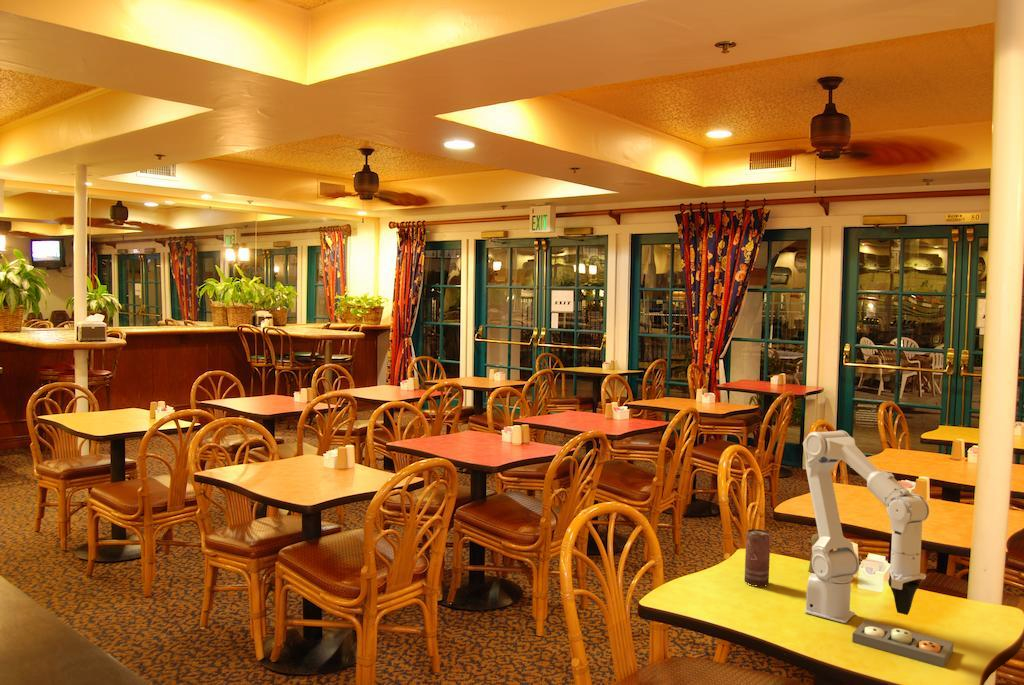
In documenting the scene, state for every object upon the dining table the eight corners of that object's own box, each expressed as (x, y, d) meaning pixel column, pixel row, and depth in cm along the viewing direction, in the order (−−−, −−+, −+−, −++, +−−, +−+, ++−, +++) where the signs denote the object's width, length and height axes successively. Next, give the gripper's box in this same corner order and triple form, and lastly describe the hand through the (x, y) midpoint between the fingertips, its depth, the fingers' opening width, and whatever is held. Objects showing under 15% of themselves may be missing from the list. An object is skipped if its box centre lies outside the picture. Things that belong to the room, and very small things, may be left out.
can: (766, 589, 202) (768, 536, 202) (741, 584, 206) (743, 532, 205) (771, 582, 208) (774, 531, 207) (748, 577, 211) (750, 527, 210)
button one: (862, 639, 172) (862, 629, 172) (867, 634, 175) (867, 624, 175) (881, 645, 170) (881, 634, 169) (886, 639, 173) (886, 629, 173)
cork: (833, 578, 212) (835, 538, 212) (810, 576, 214) (811, 536, 213) (829, 571, 218) (830, 532, 218) (806, 569, 219) (808, 530, 219)
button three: (916, 654, 165) (917, 644, 165) (920, 648, 168) (921, 638, 168) (937, 660, 163) (938, 649, 163) (941, 654, 166) (942, 643, 166)
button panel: (852, 641, 172) (852, 633, 171) (864, 627, 179) (865, 619, 179) (943, 667, 160) (944, 657, 160) (953, 651, 168) (953, 642, 168)
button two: (889, 642, 169) (889, 631, 168) (893, 636, 172) (894, 626, 172) (909, 647, 166) (909, 636, 166) (913, 641, 169) (914, 631, 169)
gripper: (918, 563, 160) (915, 628, 160) (933, 547, 171) (930, 608, 172) (881, 555, 164) (879, 618, 165) (898, 540, 175) (895, 600, 176)
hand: (902, 612), depth 169 cm, fingers closed
